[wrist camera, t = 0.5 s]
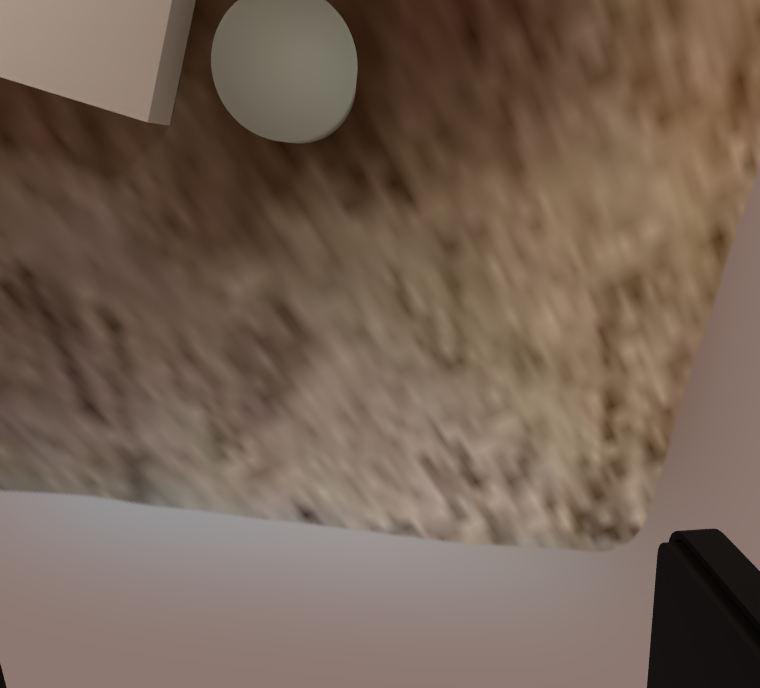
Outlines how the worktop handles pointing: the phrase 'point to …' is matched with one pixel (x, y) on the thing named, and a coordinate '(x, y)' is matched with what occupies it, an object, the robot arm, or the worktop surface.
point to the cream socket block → (99, 51)
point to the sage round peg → (285, 68)
